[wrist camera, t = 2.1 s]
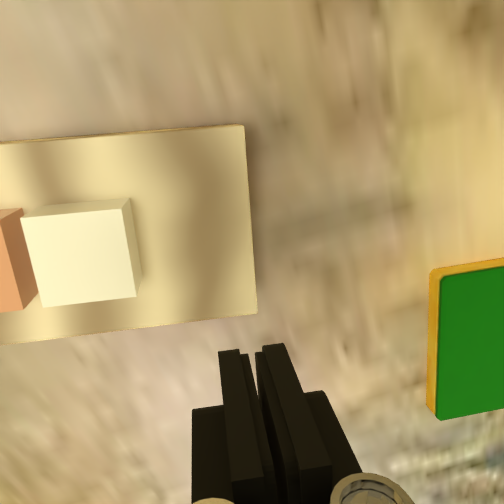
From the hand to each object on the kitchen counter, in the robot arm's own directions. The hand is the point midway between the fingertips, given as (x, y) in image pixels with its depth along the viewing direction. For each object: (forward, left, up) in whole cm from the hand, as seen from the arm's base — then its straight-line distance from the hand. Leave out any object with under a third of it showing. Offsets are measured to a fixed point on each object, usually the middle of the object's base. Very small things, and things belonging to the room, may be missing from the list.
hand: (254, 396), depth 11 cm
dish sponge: (-21, +13, -22) cm, 33 cm away
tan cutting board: (+8, 0, -21) cm, 22 cm away
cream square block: (+7, 0, -16) cm, 18 cm away
